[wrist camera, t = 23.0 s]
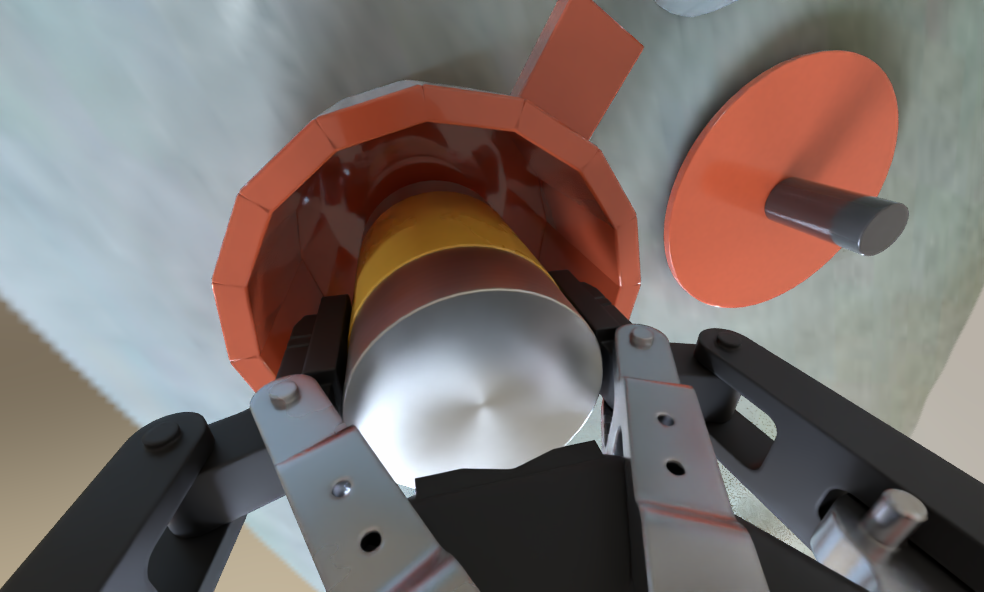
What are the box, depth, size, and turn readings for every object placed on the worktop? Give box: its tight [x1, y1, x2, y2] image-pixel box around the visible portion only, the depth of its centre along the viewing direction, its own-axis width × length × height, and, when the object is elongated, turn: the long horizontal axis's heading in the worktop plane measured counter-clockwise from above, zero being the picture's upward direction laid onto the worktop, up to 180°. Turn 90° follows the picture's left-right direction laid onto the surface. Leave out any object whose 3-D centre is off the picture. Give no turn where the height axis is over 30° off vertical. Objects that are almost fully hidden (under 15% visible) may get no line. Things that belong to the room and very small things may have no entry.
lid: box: [664, 50, 909, 308], centre depth 19 cm, size 14×14×6 cm
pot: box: [212, 0, 644, 393], centre depth 15 cm, size 13×18×8 cm
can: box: [342, 181, 603, 488], centre depth 13 cm, size 6×6×9 cm
